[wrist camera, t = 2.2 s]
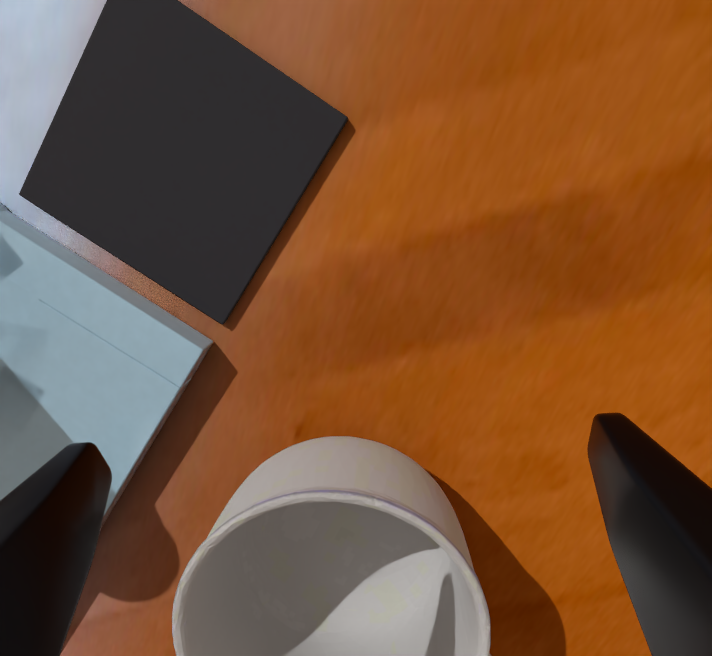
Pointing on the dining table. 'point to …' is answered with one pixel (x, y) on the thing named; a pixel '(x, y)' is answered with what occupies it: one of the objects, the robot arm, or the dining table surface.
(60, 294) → the light blue flat square
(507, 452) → the dining table surface
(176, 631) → the teacup
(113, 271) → the dining table surface
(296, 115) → the mat
